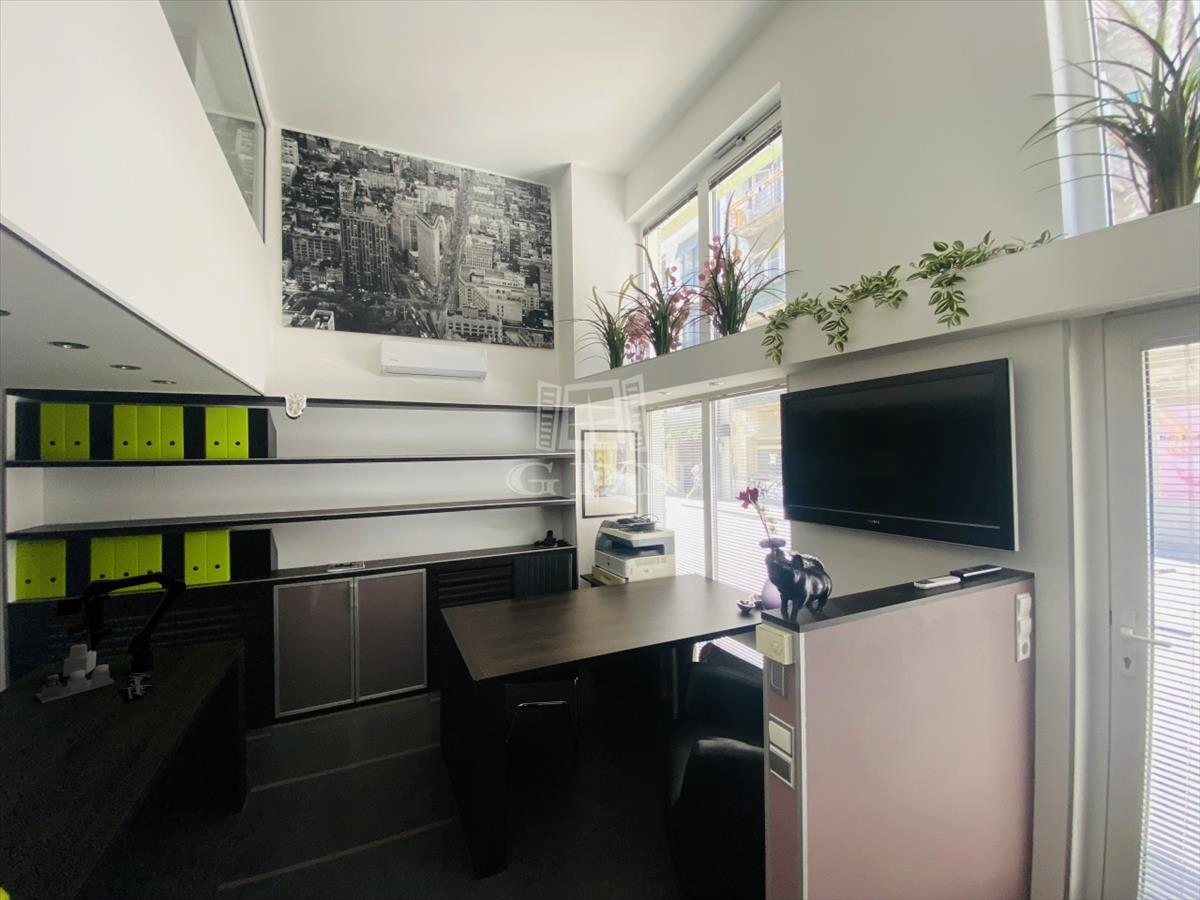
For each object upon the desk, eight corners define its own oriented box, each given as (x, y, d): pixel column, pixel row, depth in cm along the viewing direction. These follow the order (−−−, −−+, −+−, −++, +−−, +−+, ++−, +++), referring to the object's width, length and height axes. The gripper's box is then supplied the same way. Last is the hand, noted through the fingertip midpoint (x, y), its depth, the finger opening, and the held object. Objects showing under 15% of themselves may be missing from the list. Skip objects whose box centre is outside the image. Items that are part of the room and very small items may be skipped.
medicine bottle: (72, 670, 198) (74, 641, 198) (95, 667, 201) (97, 639, 201) (62, 677, 191) (64, 648, 192) (86, 674, 194) (87, 645, 195)
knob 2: (105, 677, 191) (106, 663, 191) (109, 680, 189) (109, 666, 189) (91, 681, 187) (92, 667, 187) (94, 683, 185) (95, 669, 185)
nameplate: (116, 677, 191) (150, 669, 198) (116, 680, 191) (150, 673, 198) (119, 701, 172) (156, 692, 180) (119, 706, 172) (156, 696, 180)
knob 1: (82, 683, 185) (83, 669, 185) (85, 686, 183) (86, 671, 183) (67, 687, 182) (68, 673, 182) (70, 690, 180) (71, 675, 180)
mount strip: (107, 677, 193) (108, 666, 193) (114, 683, 188) (115, 672, 188) (36, 696, 176) (37, 685, 177) (42, 703, 172) (42, 691, 172)
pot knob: (57, 683, 179) (58, 673, 179) (59, 685, 177) (60, 675, 177) (44, 686, 176) (45, 676, 176) (46, 689, 175) (47, 678, 175)
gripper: (58, 613, 188) (56, 651, 187) (73, 622, 179) (71, 662, 178) (97, 605, 197) (95, 642, 197) (113, 613, 188) (111, 652, 188)
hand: (93, 650), depth 190 cm, fingers closed
